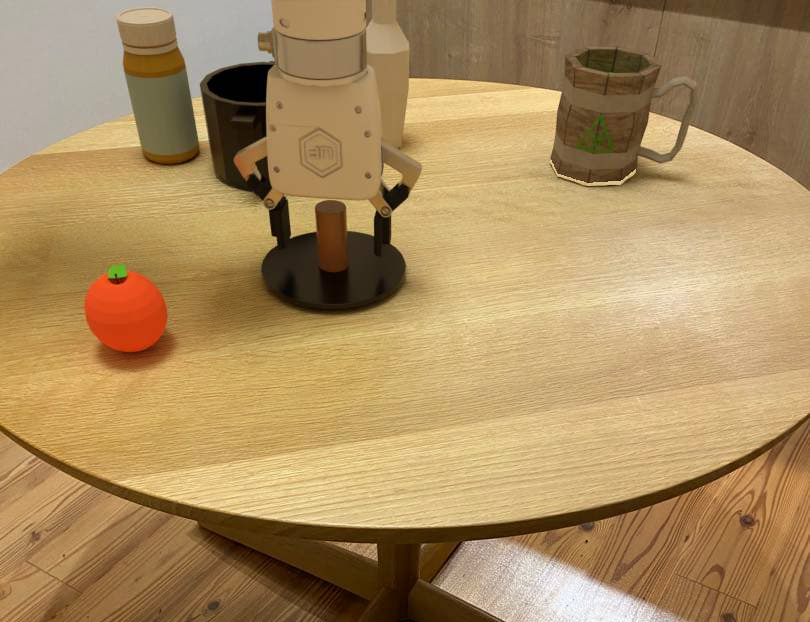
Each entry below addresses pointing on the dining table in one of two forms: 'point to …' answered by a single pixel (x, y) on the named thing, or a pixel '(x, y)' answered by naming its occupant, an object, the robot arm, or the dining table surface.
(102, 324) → the clementine
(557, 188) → the dining table surface
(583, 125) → the mug
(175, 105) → the bottle
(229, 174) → the pot
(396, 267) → the lid
